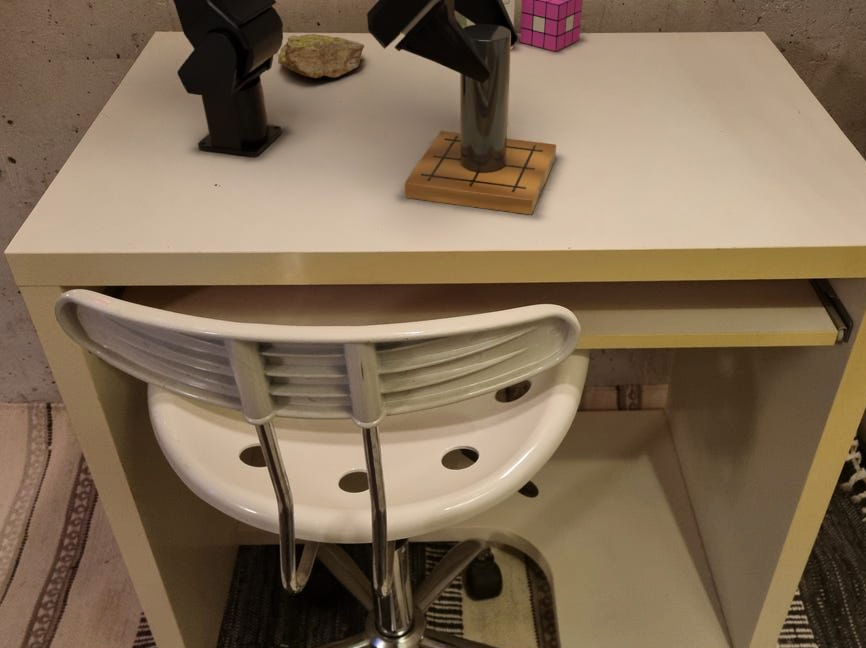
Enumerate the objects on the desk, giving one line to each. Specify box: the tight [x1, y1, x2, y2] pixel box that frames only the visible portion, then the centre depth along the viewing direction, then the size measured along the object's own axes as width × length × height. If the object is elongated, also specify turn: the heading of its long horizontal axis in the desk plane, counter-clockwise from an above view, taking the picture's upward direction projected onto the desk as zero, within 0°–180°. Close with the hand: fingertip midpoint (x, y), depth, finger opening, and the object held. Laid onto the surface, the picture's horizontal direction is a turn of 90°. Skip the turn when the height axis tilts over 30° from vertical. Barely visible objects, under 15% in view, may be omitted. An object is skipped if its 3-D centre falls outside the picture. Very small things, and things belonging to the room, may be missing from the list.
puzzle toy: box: [519, 0, 584, 53], centre depth 109 cm, size 6×6×6 cm
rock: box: [277, 33, 365, 79], centre depth 102 cm, size 13×10×4 cm
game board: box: [404, 130, 557, 215], centre depth 81 cm, size 12×12×2 cm
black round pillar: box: [459, 24, 512, 172], centre depth 77 cm, size 4×4×12 cm
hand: (501, 60), depth 74 cm, fingers open, 9 cm apart
